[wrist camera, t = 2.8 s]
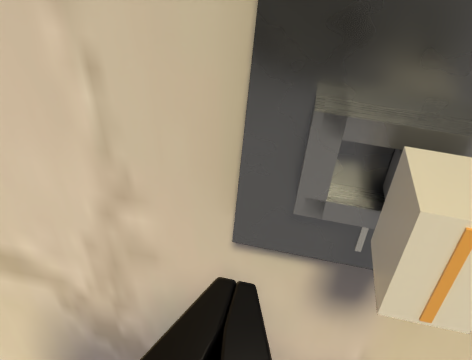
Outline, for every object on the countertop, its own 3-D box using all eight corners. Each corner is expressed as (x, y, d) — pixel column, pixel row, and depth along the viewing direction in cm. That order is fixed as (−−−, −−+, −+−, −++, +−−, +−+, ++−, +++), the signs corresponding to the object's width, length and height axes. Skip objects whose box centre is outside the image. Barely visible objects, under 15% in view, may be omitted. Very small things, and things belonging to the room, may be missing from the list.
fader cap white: (475, 128, 13) (535, 234, 9) (435, 216, 16) (469, 336, 11) (396, 115, 14) (421, 213, 10) (367, 204, 16) (377, 317, 12)
